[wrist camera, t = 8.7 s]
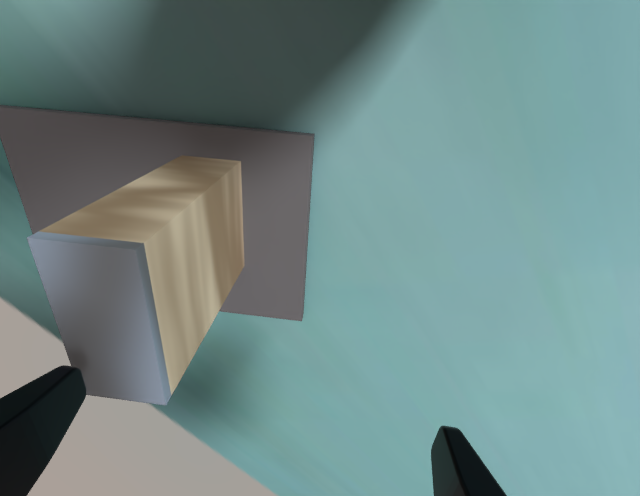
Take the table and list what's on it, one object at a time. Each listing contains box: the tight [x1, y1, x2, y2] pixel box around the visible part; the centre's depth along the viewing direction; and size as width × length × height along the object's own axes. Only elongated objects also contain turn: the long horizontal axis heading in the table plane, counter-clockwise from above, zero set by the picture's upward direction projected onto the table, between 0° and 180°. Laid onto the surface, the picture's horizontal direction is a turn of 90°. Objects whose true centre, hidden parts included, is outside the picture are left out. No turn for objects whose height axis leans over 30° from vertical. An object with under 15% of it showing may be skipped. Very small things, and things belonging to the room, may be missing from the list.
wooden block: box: [27, 155, 244, 405], centre depth 15 cm, size 3×6×9 cm, turn 176°
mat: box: [0, 105, 314, 321], centre depth 20 cm, size 16×11×1 cm
